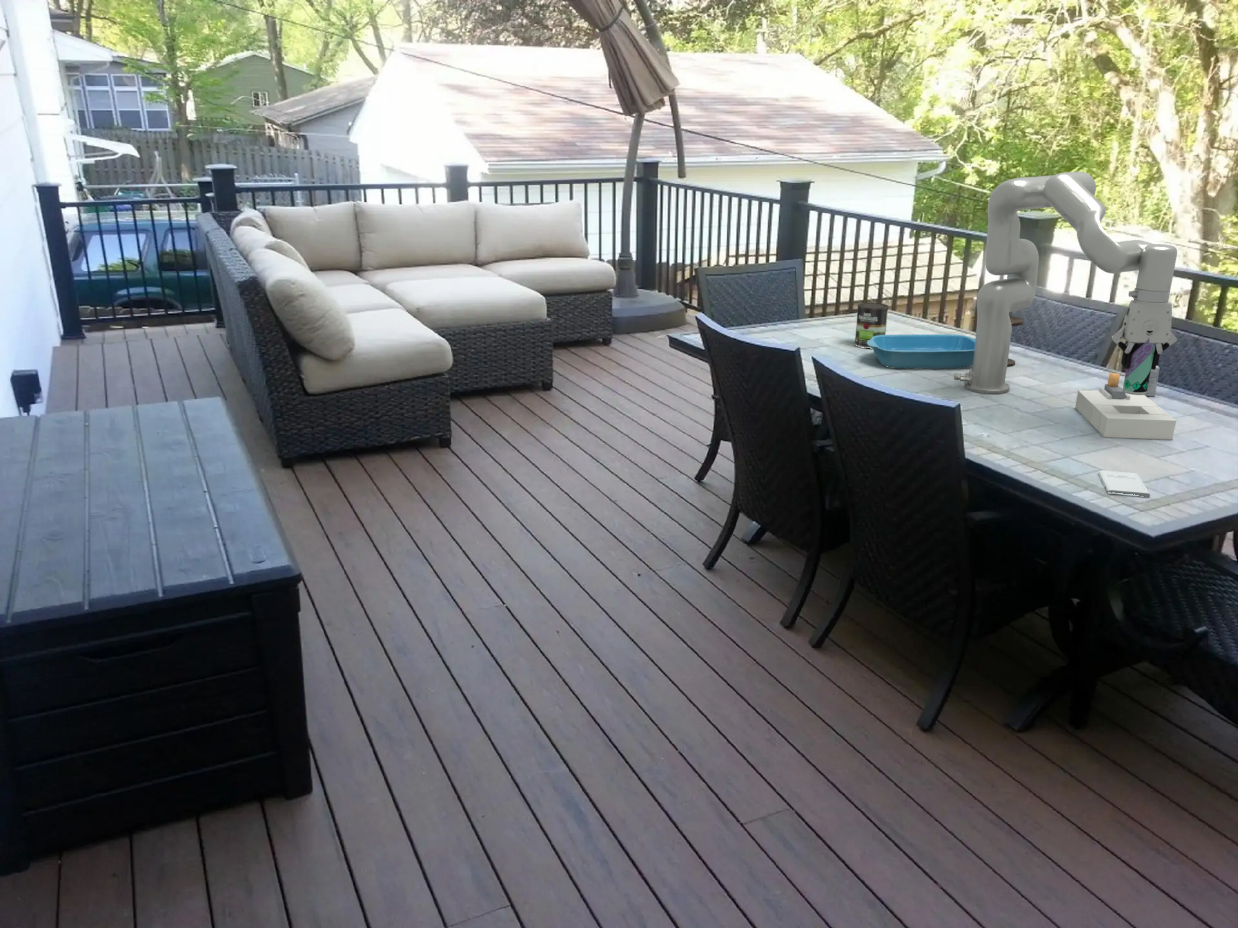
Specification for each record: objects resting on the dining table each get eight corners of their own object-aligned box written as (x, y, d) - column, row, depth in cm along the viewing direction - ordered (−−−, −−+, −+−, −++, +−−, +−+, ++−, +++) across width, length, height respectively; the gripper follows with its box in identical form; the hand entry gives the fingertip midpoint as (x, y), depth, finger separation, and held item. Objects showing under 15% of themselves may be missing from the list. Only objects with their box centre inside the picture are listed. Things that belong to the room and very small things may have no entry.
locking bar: (1112, 398, 255) (1115, 379, 253) (1103, 391, 261) (1107, 372, 260) (1124, 398, 254) (1127, 379, 253) (1115, 391, 261) (1118, 373, 259)
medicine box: (1154, 397, 273) (1160, 367, 270) (1137, 396, 274) (1143, 367, 271) (1146, 389, 280) (1152, 360, 277) (1129, 389, 281) (1135, 360, 278)
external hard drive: (1107, 496, 207) (1097, 476, 218) (1149, 500, 205) (1137, 479, 216) (1108, 489, 207) (1098, 469, 218) (1150, 493, 205) (1138, 472, 216)
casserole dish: (872, 371, 303) (874, 349, 300) (859, 354, 324) (861, 333, 321) (991, 372, 301) (994, 349, 298) (970, 354, 322) (973, 333, 319)
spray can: (1117, 389, 246) (1131, 312, 239) (1138, 388, 247) (1152, 311, 240) (1130, 395, 241) (1144, 316, 234) (1151, 394, 242) (1165, 316, 235)
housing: (1104, 437, 241) (1108, 414, 239) (1075, 407, 265) (1078, 386, 262) (1172, 439, 239) (1177, 416, 237) (1137, 409, 262) (1141, 388, 260)
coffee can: (878, 350, 327) (882, 309, 322) (849, 346, 332) (852, 306, 327) (889, 344, 335) (893, 304, 330) (861, 341, 340) (864, 301, 335)
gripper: (1119, 298, 233) (1107, 371, 240) (1195, 299, 231) (1181, 372, 237) (1109, 293, 240) (1097, 363, 247) (1183, 294, 238) (1169, 365, 244)
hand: (1138, 367), depth 242 cm, fingers closed on spray can, 5 cm apart
